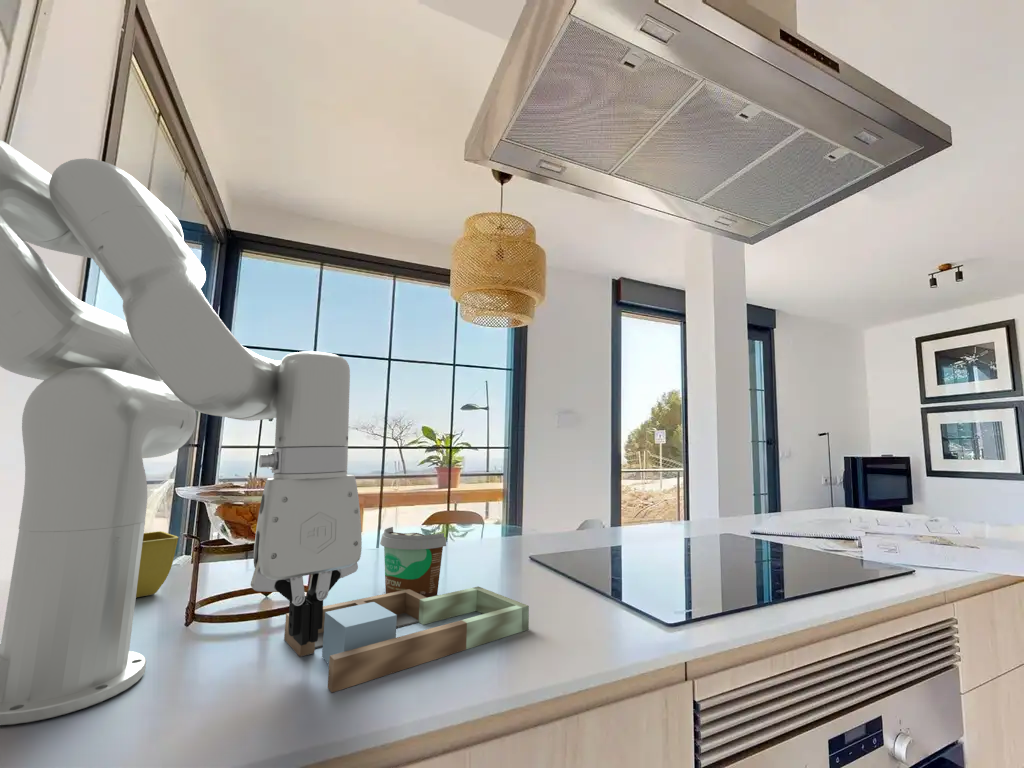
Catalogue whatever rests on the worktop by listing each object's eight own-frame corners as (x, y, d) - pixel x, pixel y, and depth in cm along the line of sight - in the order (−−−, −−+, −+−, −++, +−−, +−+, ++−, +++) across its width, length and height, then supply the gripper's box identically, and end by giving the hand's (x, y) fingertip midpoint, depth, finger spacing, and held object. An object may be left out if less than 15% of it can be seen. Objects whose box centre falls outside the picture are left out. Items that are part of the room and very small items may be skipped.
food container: (361, 594, 76) (364, 531, 78) (387, 585, 82) (390, 526, 83) (420, 607, 71) (423, 539, 72) (444, 596, 76) (446, 533, 77)
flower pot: (102, 609, 68) (110, 545, 69) (87, 597, 73) (95, 537, 74) (173, 594, 75) (179, 536, 76) (155, 584, 80) (161, 530, 81)
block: (342, 678, 49) (345, 627, 49) (321, 658, 53) (325, 612, 54) (394, 661, 53) (396, 614, 53) (371, 644, 57) (373, 601, 58)
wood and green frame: (331, 692, 45) (334, 659, 46) (284, 639, 58) (286, 613, 58) (528, 629, 62) (528, 605, 63) (458, 598, 75) (459, 579, 75)
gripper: (242, 467, 44) (230, 676, 41) (389, 462, 54) (386, 630, 51) (227, 466, 50) (216, 649, 47) (362, 461, 59) (359, 613, 57)
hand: (305, 639), depth 49 cm, fingers closed
